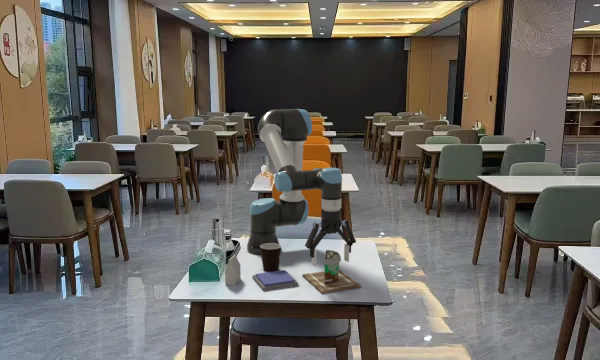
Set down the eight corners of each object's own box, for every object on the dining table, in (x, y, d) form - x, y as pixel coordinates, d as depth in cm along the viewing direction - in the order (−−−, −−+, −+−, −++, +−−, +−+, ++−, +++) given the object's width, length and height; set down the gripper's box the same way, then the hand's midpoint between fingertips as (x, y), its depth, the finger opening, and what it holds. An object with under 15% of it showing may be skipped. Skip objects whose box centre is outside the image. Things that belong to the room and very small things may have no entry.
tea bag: (240, 279, 206) (240, 254, 204) (234, 285, 199) (233, 260, 198) (231, 278, 207) (231, 254, 205) (225, 284, 200) (224, 259, 198)
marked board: (302, 276, 208) (302, 273, 208) (339, 271, 214) (339, 268, 214) (321, 293, 191) (321, 290, 191) (360, 287, 196) (360, 284, 196)
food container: (340, 285, 196) (341, 259, 194) (324, 285, 196) (324, 259, 195) (341, 274, 208) (341, 249, 206) (325, 273, 209) (325, 249, 207)
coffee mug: (275, 274, 211) (275, 250, 209) (256, 271, 214) (256, 247, 213) (288, 265, 221) (288, 242, 220) (270, 262, 225) (269, 240, 223)
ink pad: (252, 278, 207) (252, 273, 206) (285, 273, 212) (285, 268, 211) (262, 290, 194) (262, 285, 193) (298, 285, 199) (298, 280, 198)
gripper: (304, 214, 190) (303, 270, 194) (365, 208, 198) (364, 262, 202) (296, 209, 196) (296, 263, 200) (356, 204, 205) (355, 256, 209)
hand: (330, 263), depth 201 cm, fingers open, 13 cm apart
